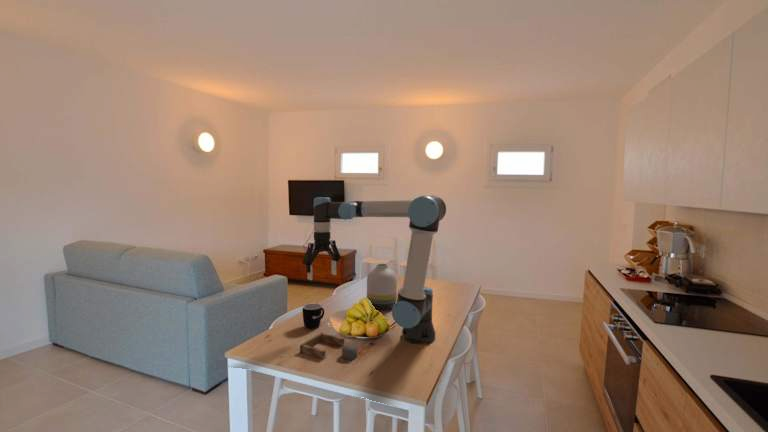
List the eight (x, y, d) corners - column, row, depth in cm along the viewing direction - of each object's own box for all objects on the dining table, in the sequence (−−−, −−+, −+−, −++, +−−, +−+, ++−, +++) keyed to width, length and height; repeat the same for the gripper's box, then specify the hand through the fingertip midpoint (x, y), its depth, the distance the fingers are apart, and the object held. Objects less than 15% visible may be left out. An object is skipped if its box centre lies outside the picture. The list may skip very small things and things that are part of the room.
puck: (360, 355, 144) (360, 346, 144) (351, 361, 139) (352, 352, 138) (347, 351, 147) (347, 343, 146) (339, 357, 141) (339, 349, 141)
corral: (344, 345, 152) (344, 338, 152) (323, 359, 140) (323, 351, 139) (321, 339, 158) (321, 332, 158) (300, 352, 145) (300, 345, 145)
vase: (391, 313, 192) (392, 269, 190) (361, 309, 197) (362, 266, 195) (400, 303, 208) (401, 263, 206) (372, 300, 213) (373, 260, 211)
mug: (311, 332, 165) (311, 310, 164) (298, 327, 171) (298, 306, 170) (330, 324, 175) (330, 304, 174) (317, 320, 180) (317, 300, 179)
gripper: (338, 228, 175) (338, 271, 176) (293, 232, 157) (294, 280, 158) (348, 229, 170) (348, 273, 171) (303, 234, 152) (304, 283, 153)
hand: (322, 277), depth 165 cm, fingers open, 13 cm apart
